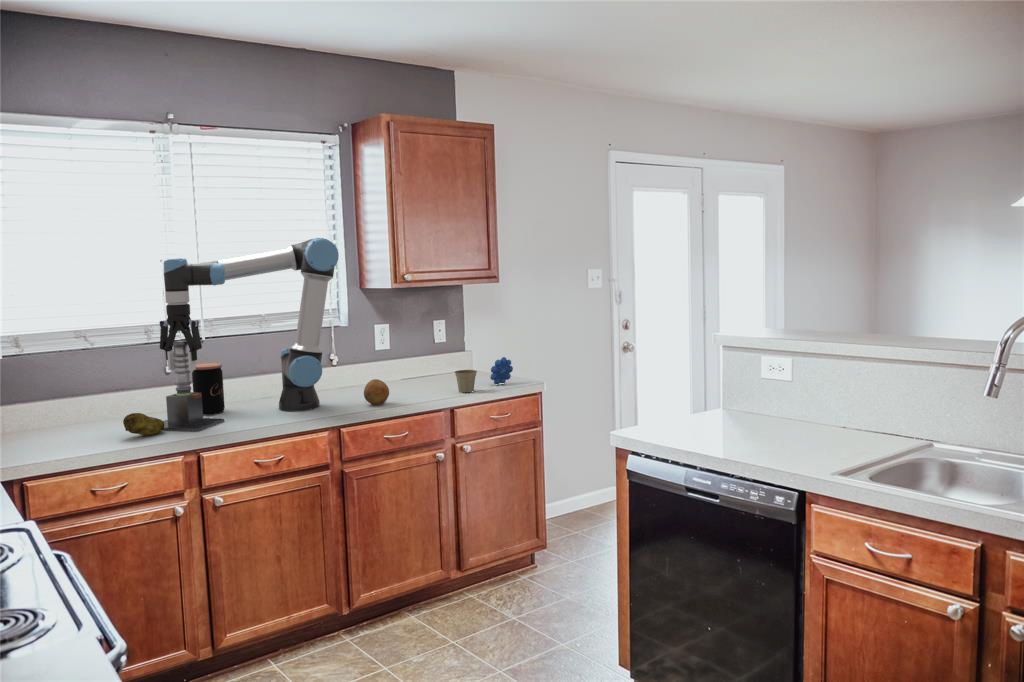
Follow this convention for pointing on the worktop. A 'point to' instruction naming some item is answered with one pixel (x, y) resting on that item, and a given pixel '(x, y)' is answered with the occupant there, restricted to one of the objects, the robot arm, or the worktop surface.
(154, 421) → the potato
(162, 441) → the worktop surface
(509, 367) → the grapes
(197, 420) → the stand
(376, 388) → the brown ball
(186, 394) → the column
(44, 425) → the worktop surface
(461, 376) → the flower pot
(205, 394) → the coffee jar
